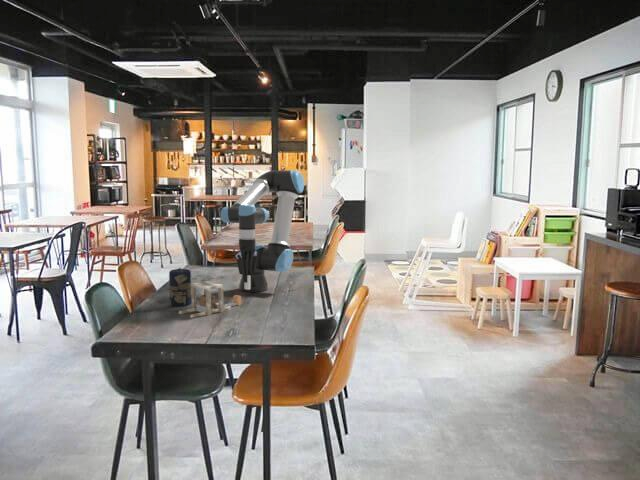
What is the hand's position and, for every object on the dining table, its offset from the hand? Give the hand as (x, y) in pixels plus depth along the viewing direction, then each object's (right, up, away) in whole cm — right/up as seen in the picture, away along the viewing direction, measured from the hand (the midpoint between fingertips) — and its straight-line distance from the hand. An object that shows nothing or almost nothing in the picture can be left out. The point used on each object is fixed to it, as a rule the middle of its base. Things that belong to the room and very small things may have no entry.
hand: (247, 289), depth 263 cm
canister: (-30, -8, -3) cm, 31 cm away
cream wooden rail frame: (-14, -9, -14) cm, 22 cm away
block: (-15, -7, -15) cm, 23 cm away
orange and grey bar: (-11, -8, -10) cm, 16 cm away
